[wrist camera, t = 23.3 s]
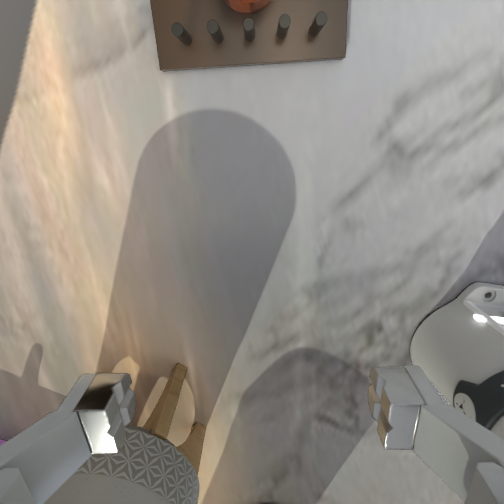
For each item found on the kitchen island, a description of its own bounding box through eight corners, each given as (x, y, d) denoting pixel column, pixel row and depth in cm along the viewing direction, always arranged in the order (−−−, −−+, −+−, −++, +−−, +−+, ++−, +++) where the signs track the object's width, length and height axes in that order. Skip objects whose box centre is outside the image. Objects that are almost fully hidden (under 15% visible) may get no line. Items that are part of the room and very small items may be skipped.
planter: (236, 394, 50) (212, 652, 26) (174, 461, 56) (109, 720, 32) (125, 333, 46) (-23, 569, 22) (72, 412, 52) (-89, 664, 28)
